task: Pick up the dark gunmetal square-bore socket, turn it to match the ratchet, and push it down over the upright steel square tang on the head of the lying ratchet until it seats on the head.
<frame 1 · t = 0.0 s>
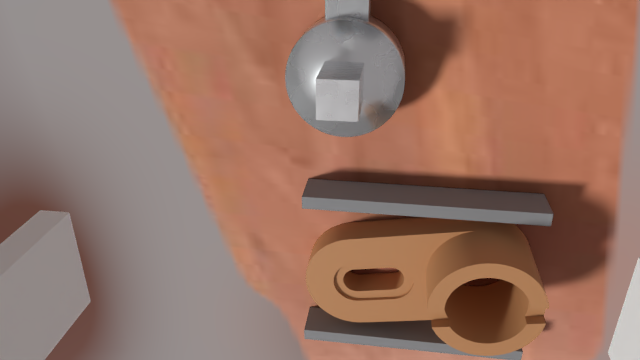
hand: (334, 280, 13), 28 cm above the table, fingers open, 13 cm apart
brown piece: (416, 257, 46), on the table
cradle: (416, 260, 46), on the table
ratchet: (348, 68, 39), on the table
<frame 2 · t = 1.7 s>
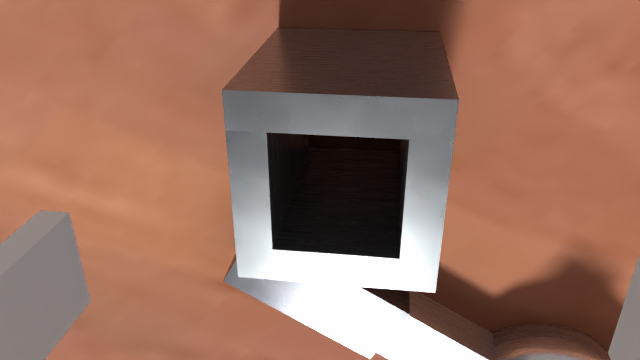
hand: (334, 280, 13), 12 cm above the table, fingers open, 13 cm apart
socket: (355, 106, 23), on the table
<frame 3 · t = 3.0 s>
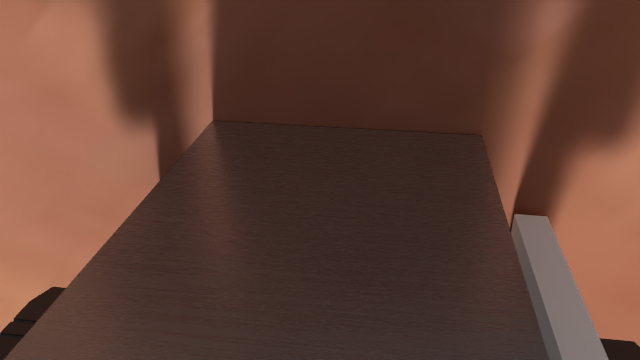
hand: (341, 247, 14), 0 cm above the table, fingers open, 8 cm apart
socket: (340, 240, 15), on the table
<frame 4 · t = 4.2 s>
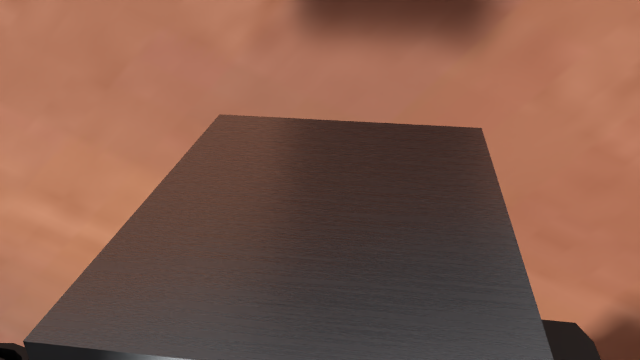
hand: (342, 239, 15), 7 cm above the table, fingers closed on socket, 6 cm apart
socket: (344, 232, 15), point 7 cm above the table, touching gripper
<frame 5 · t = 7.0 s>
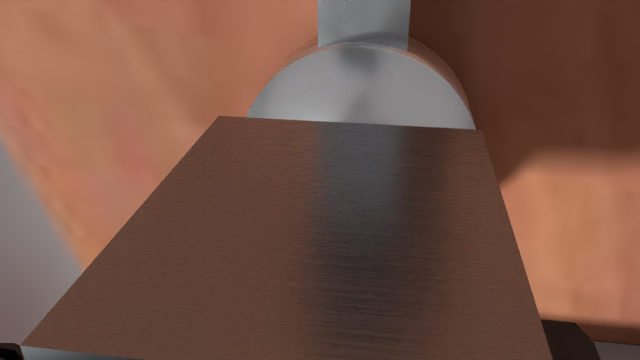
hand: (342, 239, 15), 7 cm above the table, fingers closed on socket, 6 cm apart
ratchet: (363, 133, 21), on the table
socket: (343, 233, 15), point 7 cm above the table, touching gripper
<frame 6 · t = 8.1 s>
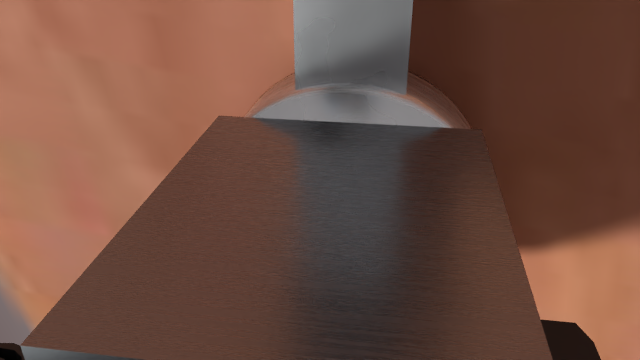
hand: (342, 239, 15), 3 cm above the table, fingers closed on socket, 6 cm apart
ratchet: (353, 184, 18), on the table
socket: (343, 233, 15), point 3 cm above the table, touching gripper
when the fingers open (3 cm above the table, at t = 8.1 s): socket stays where it is, resting on ratchet.
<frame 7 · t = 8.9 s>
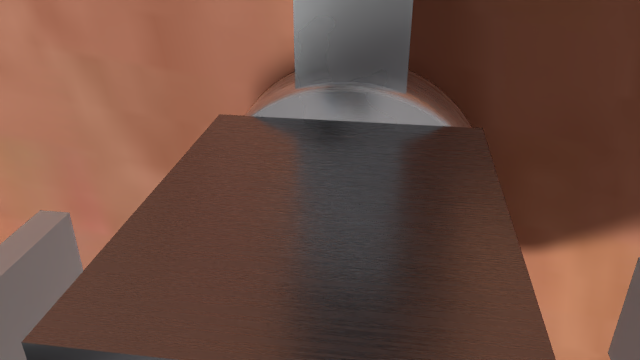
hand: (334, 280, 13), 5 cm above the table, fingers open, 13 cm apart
ratchet: (353, 183, 17), on the table, touching socket
socket: (344, 232, 15), point 3 cm above the table, touching ratchet
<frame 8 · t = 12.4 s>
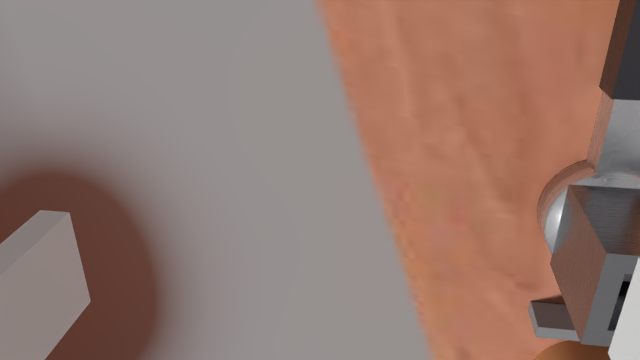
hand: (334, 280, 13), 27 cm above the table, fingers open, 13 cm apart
ratchet: (595, 207, 40), on the table, touching socket
socket: (608, 229, 37), point 3 cm above the table, touching ratchet
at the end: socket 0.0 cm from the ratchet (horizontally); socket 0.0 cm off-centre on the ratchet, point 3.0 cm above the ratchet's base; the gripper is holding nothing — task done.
